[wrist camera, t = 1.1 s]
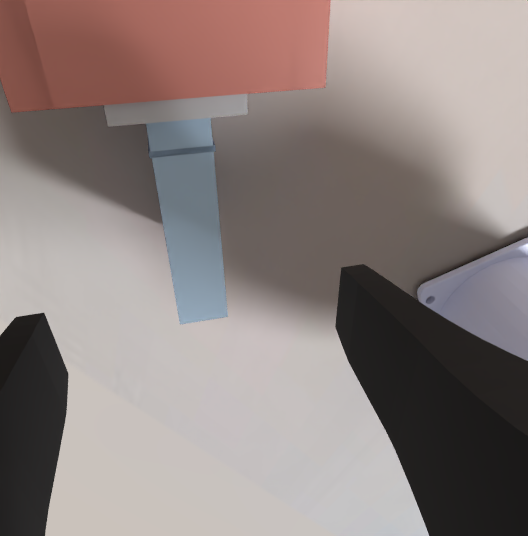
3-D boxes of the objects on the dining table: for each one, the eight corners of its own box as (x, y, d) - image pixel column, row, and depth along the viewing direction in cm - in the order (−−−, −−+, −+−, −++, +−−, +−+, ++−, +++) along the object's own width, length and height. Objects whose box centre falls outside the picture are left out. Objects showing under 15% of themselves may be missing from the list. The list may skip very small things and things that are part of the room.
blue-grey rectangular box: (208, 228, 19) (229, 316, 14) (168, 233, 19) (178, 324, 14) (160, -225, 11) (175, -336, 7) (93, -228, 11) (63, -344, 7)
